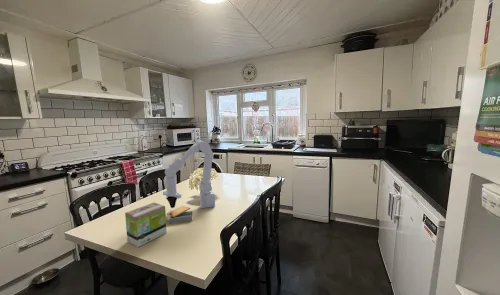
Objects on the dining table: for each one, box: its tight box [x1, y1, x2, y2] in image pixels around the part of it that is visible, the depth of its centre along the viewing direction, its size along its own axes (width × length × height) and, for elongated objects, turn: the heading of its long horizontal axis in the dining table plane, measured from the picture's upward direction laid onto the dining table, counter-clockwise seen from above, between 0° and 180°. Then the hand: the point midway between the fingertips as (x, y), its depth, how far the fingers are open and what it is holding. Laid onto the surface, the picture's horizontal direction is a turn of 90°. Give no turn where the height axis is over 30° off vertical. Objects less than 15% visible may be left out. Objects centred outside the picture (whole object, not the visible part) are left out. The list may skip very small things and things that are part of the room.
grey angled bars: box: [169, 210, 193, 225], centre depth 117 cm, size 12×7×3 cm, turn 105°
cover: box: [166, 205, 191, 217], centre depth 120 cm, size 12×7×1 cm, turn 150°
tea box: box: [124, 202, 167, 248], centre depth 99 cm, size 15×10×15 cm
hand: (172, 207), depth 127 cm, fingers closed
